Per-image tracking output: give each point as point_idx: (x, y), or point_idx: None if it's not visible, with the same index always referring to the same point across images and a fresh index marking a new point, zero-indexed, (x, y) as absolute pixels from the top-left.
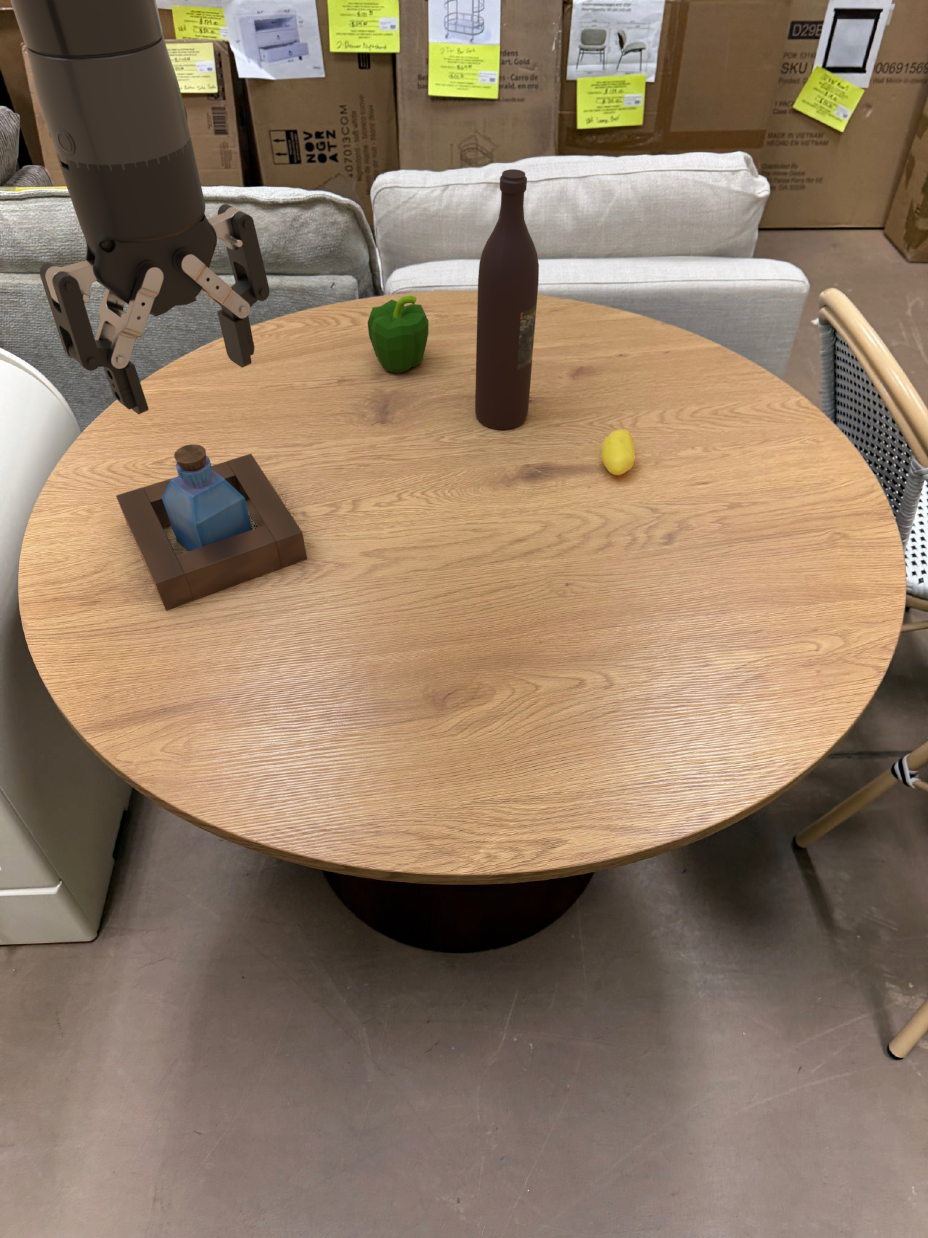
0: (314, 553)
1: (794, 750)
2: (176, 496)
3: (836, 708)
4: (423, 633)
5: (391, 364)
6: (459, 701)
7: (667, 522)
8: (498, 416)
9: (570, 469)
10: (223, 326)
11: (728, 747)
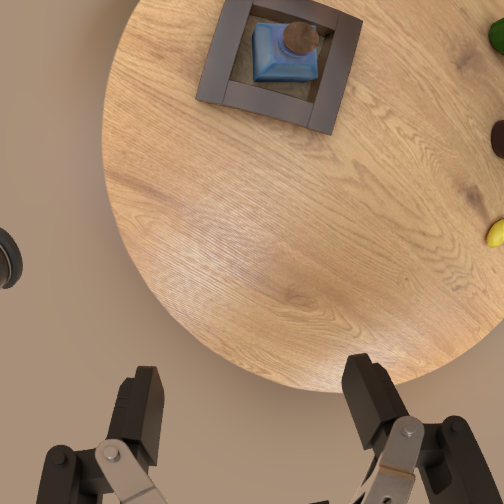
0: None
1: None
2: (265, 40)
3: None
4: (324, 252)
5: (495, 42)
6: (298, 302)
7: (466, 279)
8: (499, 149)
9: (483, 211)
10: (368, 408)
11: None
